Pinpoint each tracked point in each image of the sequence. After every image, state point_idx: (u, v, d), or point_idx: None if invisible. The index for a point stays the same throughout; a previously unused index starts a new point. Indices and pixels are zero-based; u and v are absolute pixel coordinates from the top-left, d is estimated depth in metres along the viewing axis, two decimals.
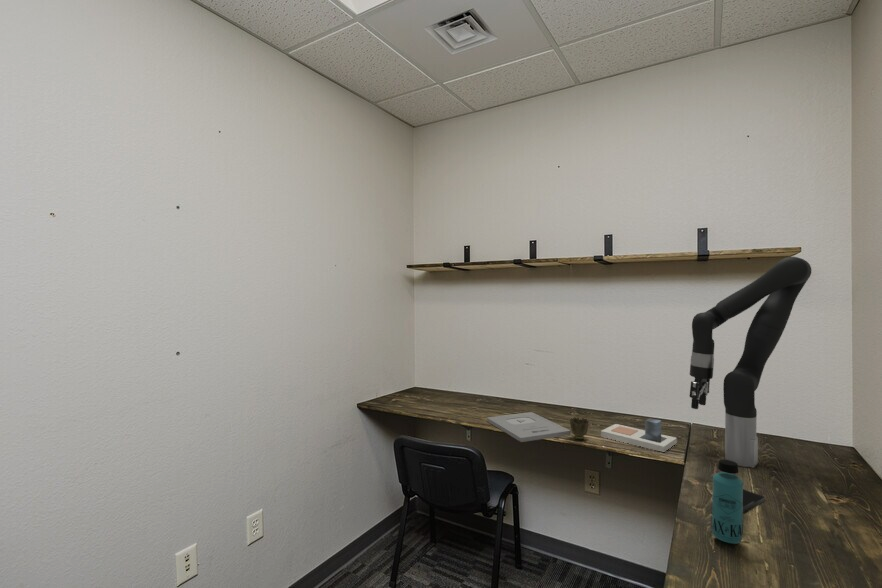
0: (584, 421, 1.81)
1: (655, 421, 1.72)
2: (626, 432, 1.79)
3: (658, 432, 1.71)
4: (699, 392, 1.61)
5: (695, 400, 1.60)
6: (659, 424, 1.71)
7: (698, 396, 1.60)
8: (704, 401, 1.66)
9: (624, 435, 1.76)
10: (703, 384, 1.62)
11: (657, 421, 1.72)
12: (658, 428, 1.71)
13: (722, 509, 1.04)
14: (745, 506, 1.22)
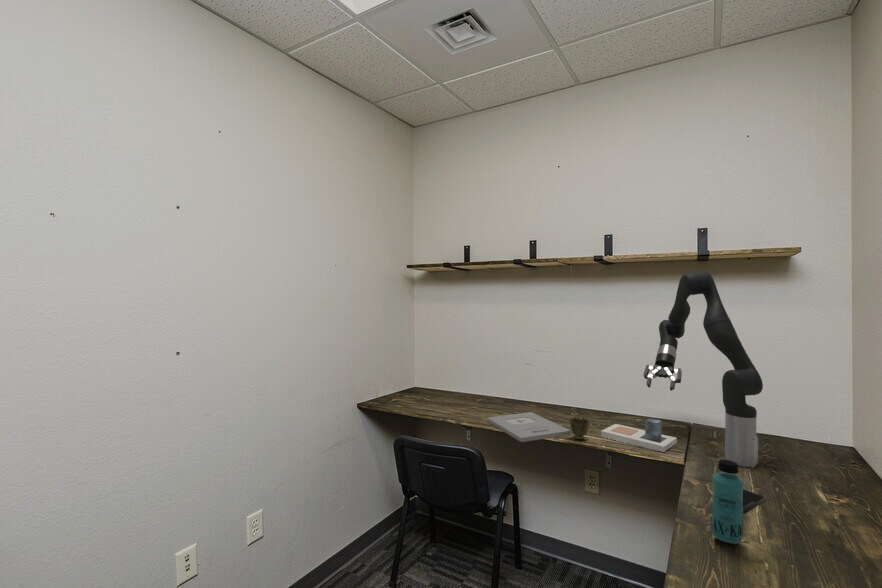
0: (584, 421, 1.81)
1: (655, 421, 1.72)
2: (626, 432, 1.79)
3: (658, 432, 1.71)
4: None
5: None
6: (659, 424, 1.71)
7: None
8: (670, 385, 1.80)
9: (624, 435, 1.76)
10: None
11: (657, 421, 1.72)
12: (658, 428, 1.71)
13: (722, 509, 1.04)
14: (745, 506, 1.22)
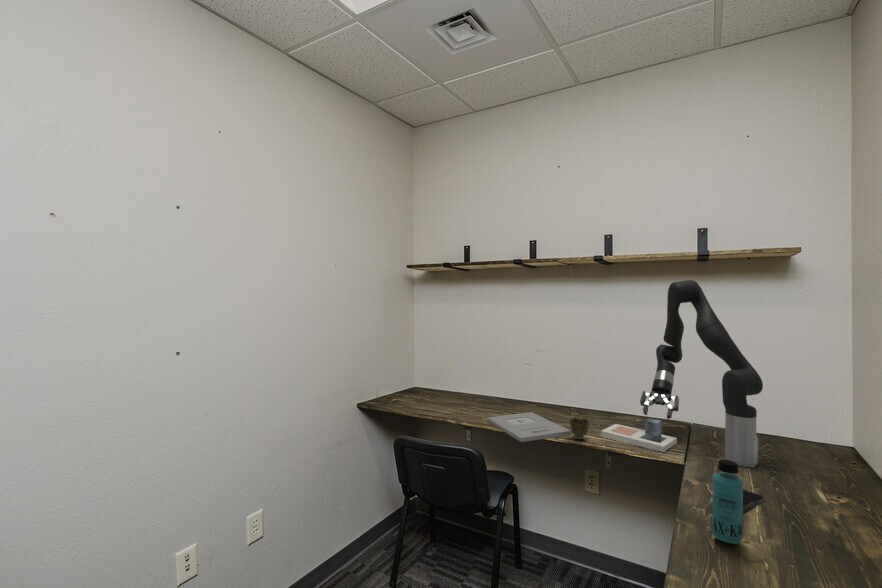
0: (584, 421, 1.81)
1: (655, 421, 1.72)
2: (626, 432, 1.79)
3: (658, 432, 1.71)
4: None
5: None
6: (659, 424, 1.71)
7: (645, 402, 1.82)
8: (667, 413, 1.75)
9: (624, 435, 1.76)
10: None
11: (657, 421, 1.72)
12: (658, 428, 1.71)
13: (722, 509, 1.04)
14: (745, 506, 1.22)
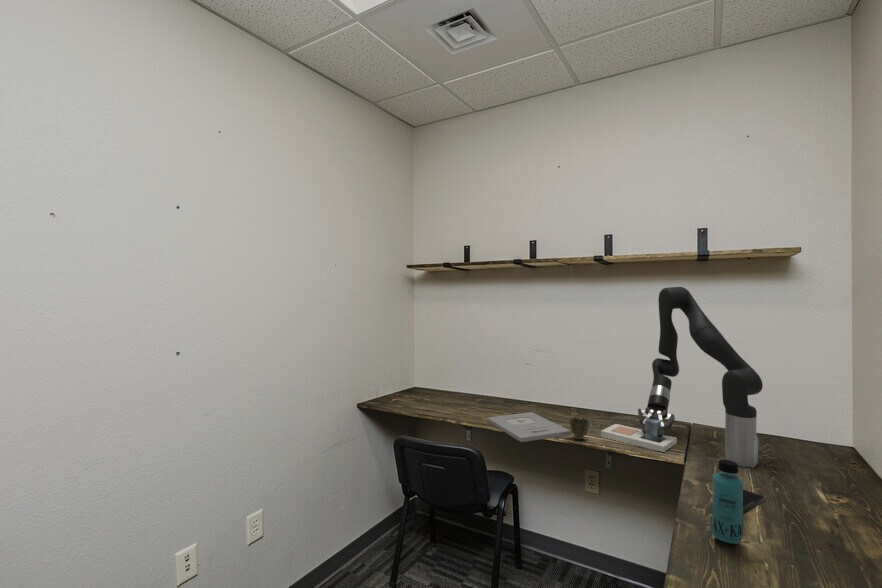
0: (584, 421, 1.81)
1: (655, 421, 1.72)
2: (626, 432, 1.79)
3: (658, 432, 1.71)
4: None
5: None
6: (659, 424, 1.71)
7: None
8: (659, 431, 1.70)
9: (624, 435, 1.76)
10: None
11: (657, 421, 1.72)
12: (658, 428, 1.71)
13: (722, 509, 1.04)
14: (745, 506, 1.22)
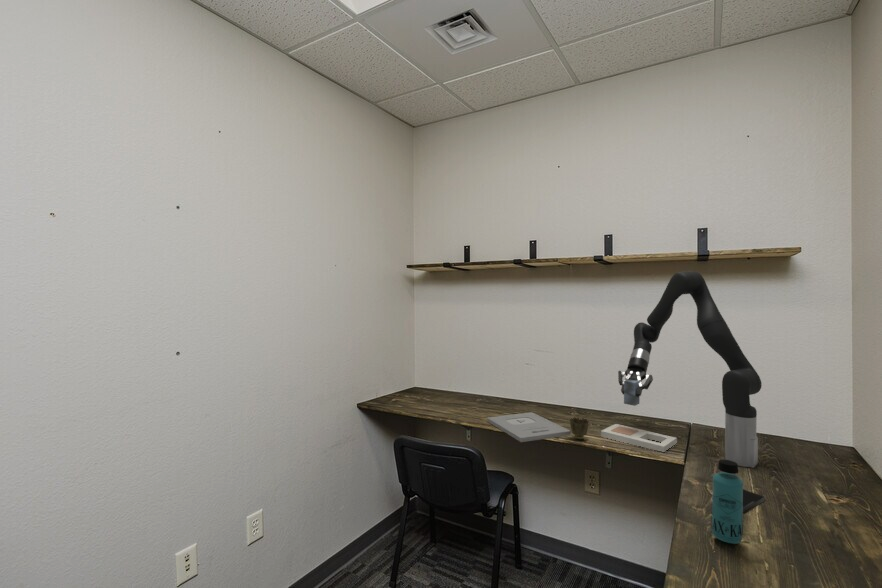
0: (584, 421, 1.81)
1: (633, 381, 1.78)
2: (626, 432, 1.79)
3: (636, 392, 1.77)
4: None
5: None
6: (637, 384, 1.78)
7: (623, 381, 1.82)
8: (637, 391, 1.77)
9: (624, 435, 1.76)
10: None
11: (635, 381, 1.78)
12: (636, 388, 1.77)
13: (722, 509, 1.04)
14: (745, 506, 1.22)
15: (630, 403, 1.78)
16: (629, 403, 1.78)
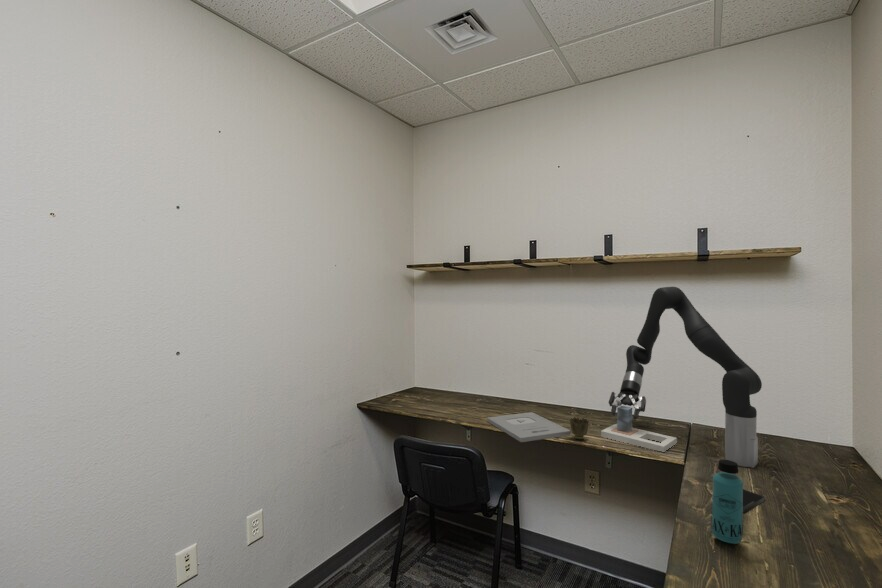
0: (584, 421, 1.81)
1: (626, 408, 1.80)
2: (626, 432, 1.79)
3: (629, 418, 1.79)
4: None
5: None
6: (630, 411, 1.80)
7: (613, 402, 1.85)
8: (634, 414, 1.78)
9: (624, 435, 1.76)
10: None
11: (628, 408, 1.80)
12: (629, 415, 1.79)
13: (722, 509, 1.04)
14: (745, 506, 1.22)
15: (623, 430, 1.79)
16: (622, 430, 1.80)
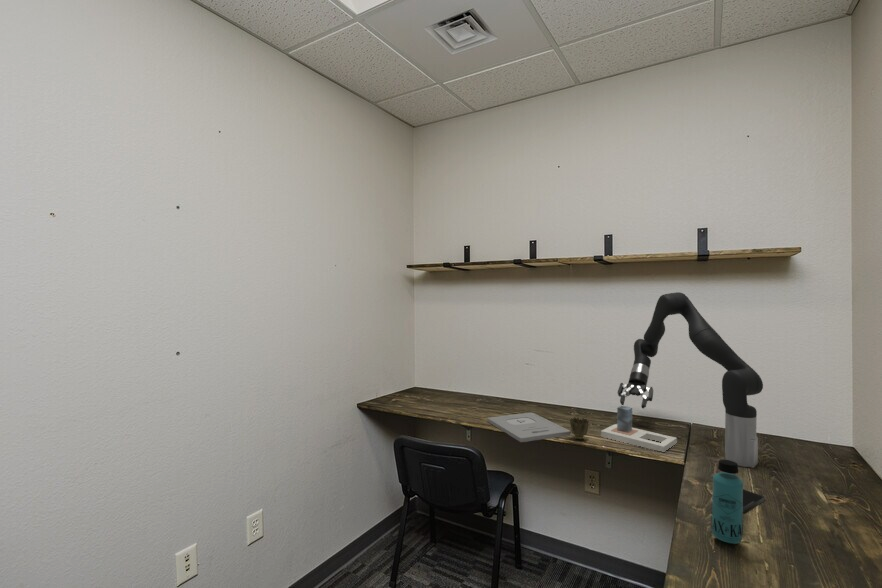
0: (584, 421, 1.81)
1: (626, 408, 1.80)
2: (626, 432, 1.79)
3: (629, 418, 1.79)
4: None
5: None
6: (630, 411, 1.80)
7: None
8: (642, 403, 1.88)
9: (624, 435, 1.76)
10: None
11: (628, 408, 1.80)
12: (629, 415, 1.79)
13: (722, 509, 1.04)
14: (745, 506, 1.22)
15: (623, 430, 1.79)
16: (622, 430, 1.80)
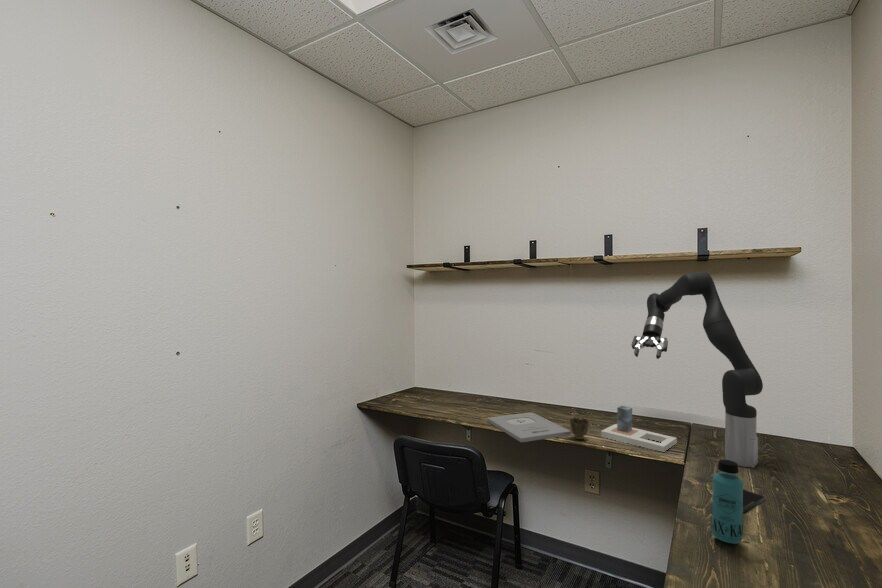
0: (584, 421, 1.81)
1: (626, 408, 1.80)
2: (626, 432, 1.79)
3: (629, 418, 1.79)
4: None
5: None
6: (630, 411, 1.80)
7: (636, 345, 1.94)
8: None
9: (624, 435, 1.76)
10: None
11: (628, 408, 1.80)
12: (629, 415, 1.79)
13: (722, 509, 1.04)
14: (745, 506, 1.22)
15: (623, 430, 1.79)
16: (622, 430, 1.80)
